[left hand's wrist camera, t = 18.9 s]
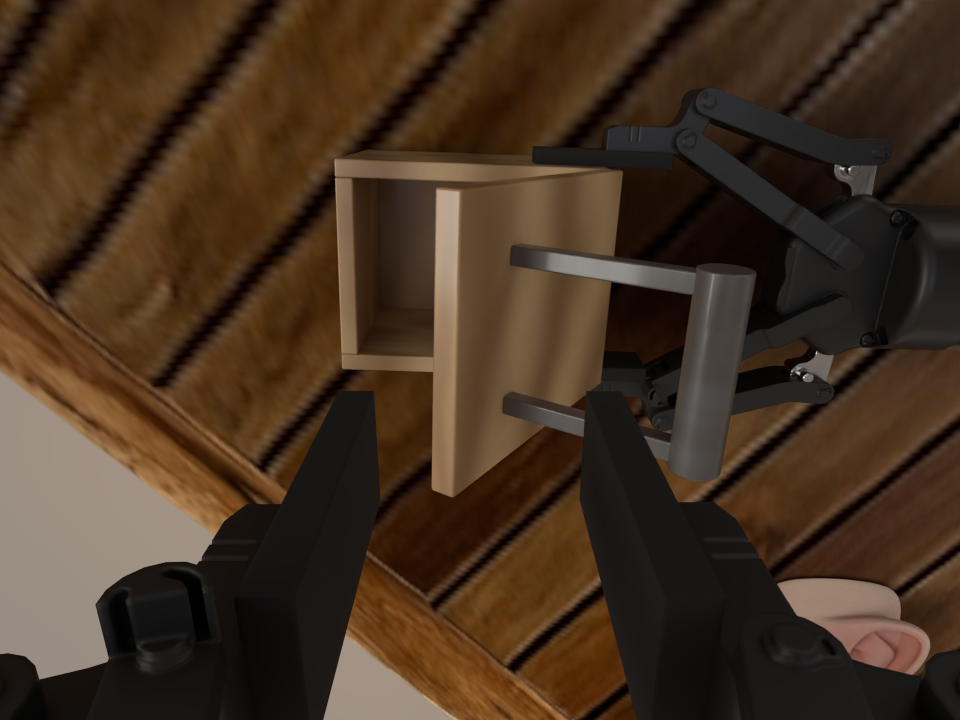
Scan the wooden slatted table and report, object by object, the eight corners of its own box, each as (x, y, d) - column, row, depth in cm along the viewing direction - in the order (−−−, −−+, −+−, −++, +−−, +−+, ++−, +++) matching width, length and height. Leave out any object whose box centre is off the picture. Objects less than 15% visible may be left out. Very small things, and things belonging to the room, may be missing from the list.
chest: (370, 315, 43) (341, 369, 33) (367, 149, 39) (334, 158, 30) (566, 322, 43) (590, 377, 34) (580, 157, 39) (611, 168, 30)
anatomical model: (717, 717, 49) (777, 593, 45) (700, 675, 53) (754, 557, 49) (883, 748, 50) (954, 630, 46) (854, 704, 54) (919, 591, 50)
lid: (430, 490, 23) (679, 584, 19) (434, 186, 19) (741, 217, 15) (583, 378, 33) (765, 423, 29) (603, 169, 30) (813, 184, 26)
